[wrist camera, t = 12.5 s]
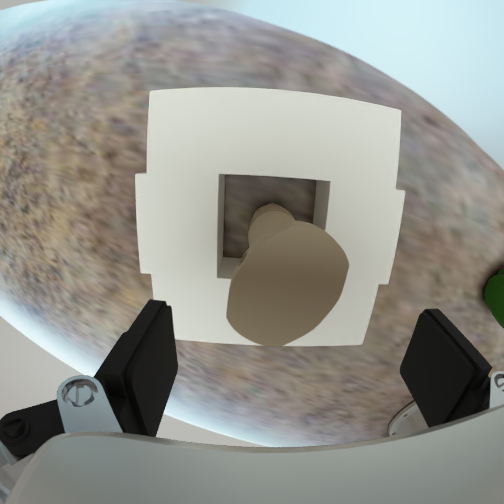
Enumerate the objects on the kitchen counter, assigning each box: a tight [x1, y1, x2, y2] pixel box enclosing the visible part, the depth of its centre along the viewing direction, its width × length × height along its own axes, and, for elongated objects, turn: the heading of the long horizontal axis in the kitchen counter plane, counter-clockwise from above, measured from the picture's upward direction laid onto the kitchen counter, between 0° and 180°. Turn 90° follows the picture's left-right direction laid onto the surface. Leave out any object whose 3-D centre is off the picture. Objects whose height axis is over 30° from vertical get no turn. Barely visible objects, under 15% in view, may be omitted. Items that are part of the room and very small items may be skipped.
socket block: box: [135, 87, 405, 346], centre depth 25 cm, size 22×22×5 cm
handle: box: [226, 202, 349, 347], centre depth 20 cm, size 5×6×15 cm
